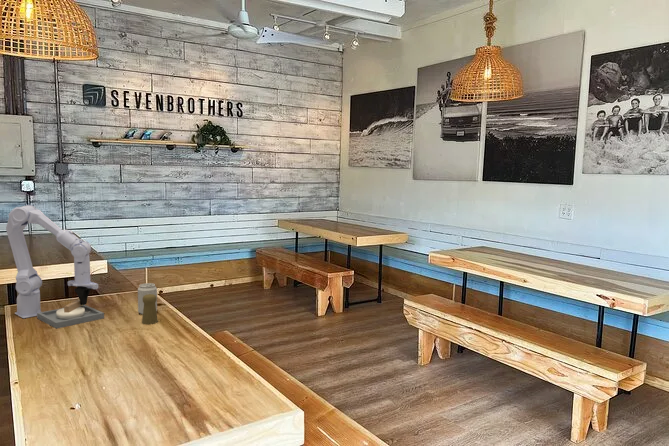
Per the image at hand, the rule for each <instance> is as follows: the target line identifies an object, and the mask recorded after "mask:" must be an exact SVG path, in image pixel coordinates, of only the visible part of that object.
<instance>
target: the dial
mask: <svg viewBox="0 0 669 446" xmlns="http://www.w3.org/2000/svg"><path fill="white" fill-rule="evenodd" d="M80 306H82V305H81V304H80V299H79V298H78V299H76V300H73V301H72V302H70V303H68V304H66V305H64V306H63V307H61V308H62V309H61V308H58V309H59V310H57V311H56V317H57V318H59V319H72V318H78V317H81V316H83V315H85V308H83V307H80Z"/></svg>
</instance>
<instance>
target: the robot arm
mask: <svg viewBox="0 0 669 446" xmlns="http://www.w3.org/2000/svg"><path fill="white" fill-rule="evenodd" d="M29 224H35V225H39V226H40V227H42V228H44V229H45V230H46V231H48V232H49V233H51V235H54V236H55V238H56V239H55V240H56V241H57V242H58V243H59V244H61V245H62V246H63V247H65V248H66V249H67V250H69V251H70V253H71V256H72V257H73V266H74V267H73V268H74V279H72V280H68V281H67V286H68V287H71V286H72V287H76V288H74V292H75V293H76V295H77V297H78V299H80V304H81V305H87V304H88V298H89V294H90V292H91V291H92V290H98V289H99V283H96V282H94V281H91V261H90V253H91V252H92V246H91V245H90V243H89V242H88V241H85V240H83V239H82V238H79V237H77V236H76V235H75V234H74V232H73V231H72V230H69V229H62V228H61V227H60V226H58V225H57V224H56V223H55V222H54V221H52V220H51V219H50V218H49V217H48V216H47V215H45V214H44V213H43V212H42V210H40V209H39V208H36V206H34V205H31V204H27V205H24V206H16V207H14V208H12V210H11V211H10V212H9V213H8V220H7V223H6V226H5V228H6V229H5V230H6V234H7V238H8V242H9V245H10V248H11V251H12V256H13V258H14V259H13V260H14V263H15V266H16V271H17V273H16V276H15V290H16V292H17V293H18V294H17V296H16V312H14V314H15V315H16V316H18V317H20V318H22V319H28V318H32V317H37V313H40V312H42V309H41V291H40V288H41V287H42V284H43V279H42V277H41V276H40V275H39V274H38V271H37V269H35V268H34V266H33V262H32V259H31V255H30V252H29V248H28V244H27V241H26V237H25V234H24V229H25V228H26V227H27V226H28V225H29Z"/></svg>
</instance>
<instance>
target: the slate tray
mask: <svg viewBox="0 0 669 446" xmlns="http://www.w3.org/2000/svg"><path fill="white" fill-rule="evenodd" d="M80 307H83V308H85V315H83V316H81V317H78V318H72V319H59V318H57V317H56V311H57V310H59V309H62V308H63V307H61V308H57V309H56V308H55V309H52V310H46V311H41V312H40V313H37V316H36V318H37V320H39V321H41V322H43V323H45V324H47V325H49V326H51V327H53V328H54V329H61V328H67V327H70V326H75V325H80V324H85V323H88V322H93V321H97V320H102V319H105V313H104V312H103V311H100V310H98V309H96V308H94V307H91V306H90V305H87V304H85V305H82V306H80Z"/></svg>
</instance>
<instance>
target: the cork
mask: <svg viewBox="0 0 669 446" xmlns="http://www.w3.org/2000/svg"><path fill="white" fill-rule="evenodd" d="M156 300H157V301H158V297H157V298H156V296H155V295H154V294H147V295H144V296H143V303H144V309H143V314H142V318H141V324H143V325H155V324H157V323H159V319H158V312H157V311H156V305H155V302H156Z"/></svg>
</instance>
